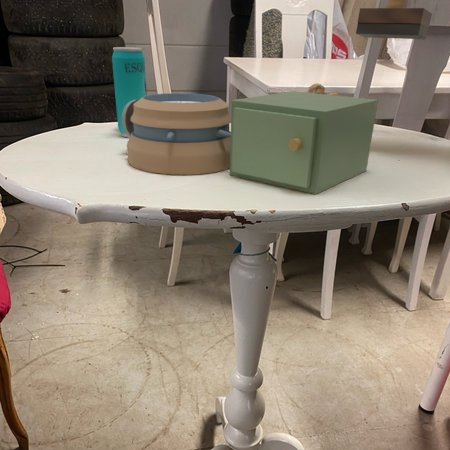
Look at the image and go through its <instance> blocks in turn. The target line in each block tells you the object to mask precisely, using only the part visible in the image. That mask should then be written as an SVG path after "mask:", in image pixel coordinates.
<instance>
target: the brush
mask: <svg viewBox="0 0 450 450" xmlns="http://www.w3.org/2000/svg"><path fill="white" fill-rule="evenodd" d="M408 2H409V0H387V1H386V7H376V8H375V7H371V8H370V7H361V8H359V12H358V16H357V25H356V30H355V35H358V36H360V37H363V38H373V39H374V38H375V39H400V40H401V39H405V40H406V39H407V40H426V39H427V36H428V31H429V28H430V25H431V21H432V16H433V13H432V12H430V11H429V10H428V9H426V8H425V7H408Z"/></svg>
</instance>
